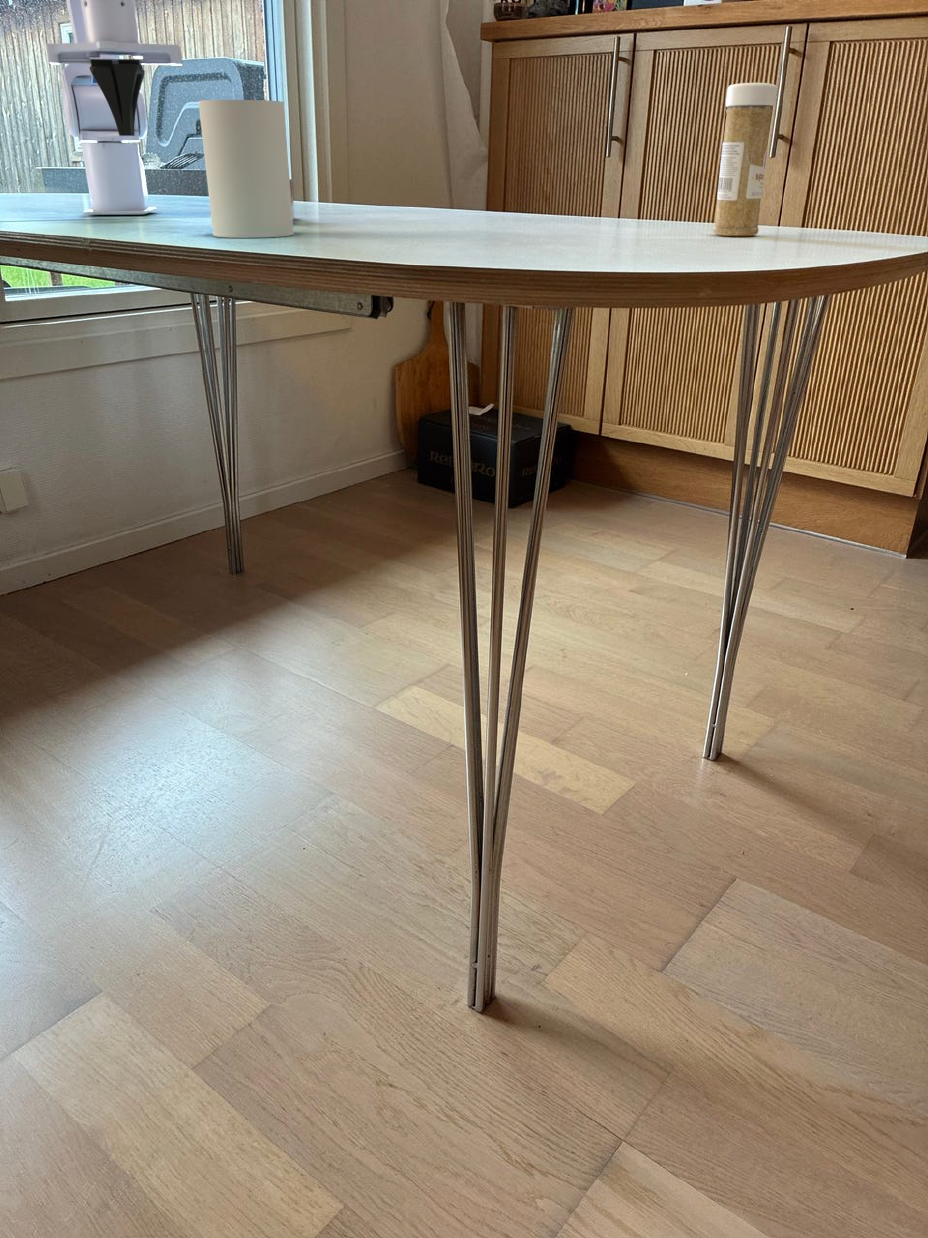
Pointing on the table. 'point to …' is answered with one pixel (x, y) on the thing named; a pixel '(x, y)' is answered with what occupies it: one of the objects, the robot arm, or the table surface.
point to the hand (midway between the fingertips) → (126, 135)
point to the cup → (247, 168)
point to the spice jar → (743, 158)
